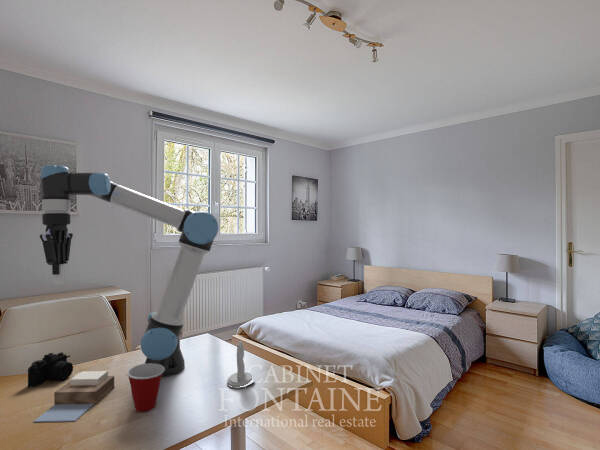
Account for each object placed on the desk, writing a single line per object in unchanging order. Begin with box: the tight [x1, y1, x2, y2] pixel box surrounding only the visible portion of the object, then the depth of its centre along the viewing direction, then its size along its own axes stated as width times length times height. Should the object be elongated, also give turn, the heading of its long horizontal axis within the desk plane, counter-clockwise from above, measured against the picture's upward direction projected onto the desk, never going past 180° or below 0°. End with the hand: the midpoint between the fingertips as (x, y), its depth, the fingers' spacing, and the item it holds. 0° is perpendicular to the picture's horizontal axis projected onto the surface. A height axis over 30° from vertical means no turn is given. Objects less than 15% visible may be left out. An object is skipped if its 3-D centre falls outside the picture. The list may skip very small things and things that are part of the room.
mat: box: [33, 403, 95, 423], centre depth 101 cm, size 12×9×1 cm
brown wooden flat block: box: [53, 375, 115, 405], centre depth 111 cm, size 13×11×4 cm
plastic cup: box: [126, 363, 165, 413], centre depth 104 cm, size 11×11×12 cm
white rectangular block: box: [69, 370, 109, 385], centre depth 113 cm, size 9×6×2 cm, turn 91°
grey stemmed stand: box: [226, 340, 253, 388], centre depth 121 cm, size 10×10×15 cm
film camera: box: [27, 352, 74, 388], centre depth 124 cm, size 15×10×9 cm, turn 169°
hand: (58, 284), depth 110 cm, fingers closed
